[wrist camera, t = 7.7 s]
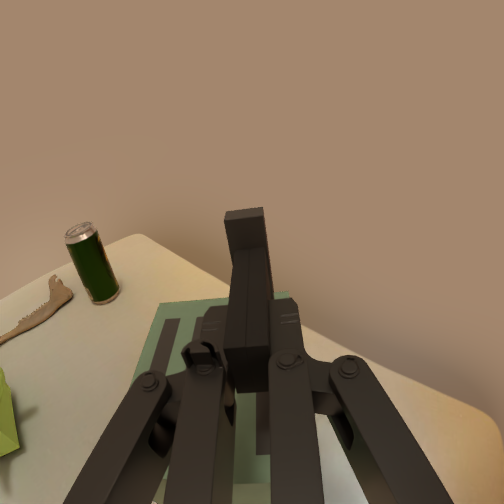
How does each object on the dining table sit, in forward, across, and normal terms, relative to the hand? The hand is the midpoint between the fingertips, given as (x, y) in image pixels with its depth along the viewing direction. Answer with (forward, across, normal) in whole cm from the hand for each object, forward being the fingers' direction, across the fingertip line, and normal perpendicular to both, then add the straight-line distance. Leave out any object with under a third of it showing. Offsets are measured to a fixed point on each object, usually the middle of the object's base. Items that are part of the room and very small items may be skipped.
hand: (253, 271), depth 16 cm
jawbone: (+18, -42, -16) cm, 49 cm away
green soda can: (+22, -26, -16) cm, 38 cm away
